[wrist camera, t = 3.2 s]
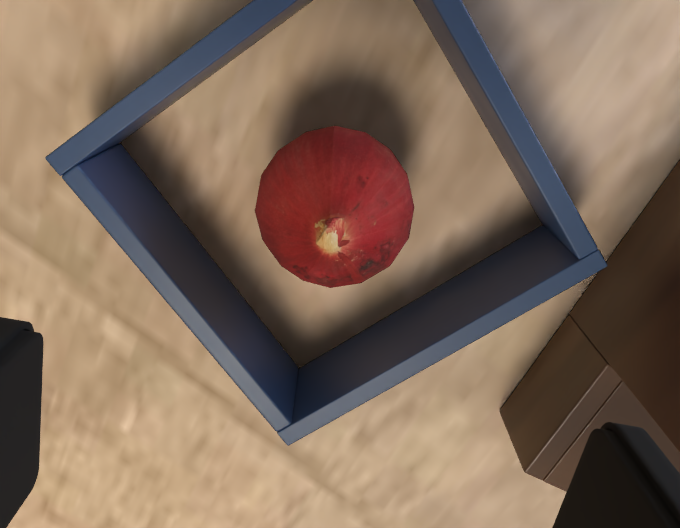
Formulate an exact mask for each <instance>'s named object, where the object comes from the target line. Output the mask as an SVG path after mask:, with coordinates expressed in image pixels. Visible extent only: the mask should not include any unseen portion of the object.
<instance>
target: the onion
mask: <svg viewBox="0 0 680 528" xmlns="http://www.w3.org/2000/svg"><path fill="white" fill-rule="evenodd" d="M413 211H414V204H413V199H412V194H411V190H410V185H409V180H408V176H407V173H406V172H405V170H404V169H403V167H402V166H401V164H400V163H399V161H398V160H397V158H396V157H395V155H394V154H393V153H392V151H391V150H390V149H389V148H387V147H386V146H385V145H383V144H382V143H380V142H379V141H377V140H376V139H374V138H373V137H372V136H370V135H369V134H367V133H366V132H362V131H357V130H352V129H348V128H343V127H339V126H331V127H326V128H321V129H316V130H312V131H307V132H305V133H304V134H302V135H301V136H299V137H298V138H296V139H295V140H293V141H292V142H290V143H289V144H287V145H286V146H284V147H283V148H281V149H280V150H278V151H277V153H276V154H275V156H274V157H273V159H272V160H271V162H270V163H269V165H268V166H267V168H266V169H265V170H264V172H263V173H262V175H261V180H260V186H259V191H258V197H257V202H256V208H255V213H256V217H257V220H258V224H259V228H260V232H261V236H262V239H263V241H264V243H265V244H266V246H267V247H268V248H269V250H270V251H271V253H272V254H273V255H274V257H275V258H276V259H277V261H278V262H279V264H280V265H281V266H282V267H284V268H285V269H287V270H288V271H290V272H291V273H293V274H294V275H296V276H297V277H299V278H300V279H302V280H303V281H307V282H311V283H314V284H318V285H322V286H326V287H329V288H332V287H339V286H345V285H352V284H358V283H362V282H363V281H365V280H367V279H369V278H370V277H372V276H374V275H375V274H377V273H379V272H381V271H382V270H384V269H386V268H387V267H389V266H390V265H391V264H392V262H393V261H394V259H395V258H396V256H397V255H398V253H399V252H400V250H401V249H402V247H403V246H404V244H405V243H406V241H407V240H408V238H409V234H410V229H411V223H412V217H413Z"/></svg>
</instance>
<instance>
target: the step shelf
mask: <svg viewBox="0 0 680 528" xmlns="http://www.w3.org/2000/svg"><path fill="white" fill-rule="evenodd" d="M606 263H607V267H606V268H604V269H602V270H600V272H599V273H598V274H597V276H596V277H595V279H594V280H593V281H592V283H591V284H590V286H589V287H588V288H587V290H586V291H585V292H584V294H583V295H582V297H581V298H580V299H579V301H578V302H577V304H576V305H575V306H574V308H573V309H572V311H571V312H570V315H569V316H568V317H567V318H566V319H565V321H564V322H563V324H562V325H561V326H560V328H559V329H558V331H557V332H556V333H555V335H554V336H553V338H552V339H551V340H550V342H549V343H548V344H547V346H546V347H545V349H544V350H543V351H542V353H541V354H540V356H539V357H538V358H537V360H536V361H535V363H534V364H533V365H532V367H531V368H530V369H529V371H528V372H527V374H526V375H525V376H524V378H523V379H522V381H521V382H520V383H519V385H518V386H517V388H516V389H515V390H514V392H513V393H512V394H511V396H510V397H509V399H508V400H507V401H506V403H505V404H504V406H503V407H502V408H501V410H500V414H501V416H502V419H503V421H504V424H505V426H506V429H507V431H508V434H509V436H510V438H511V441H512V443H513V446H514V448H515V451H516V453H517V456H518V458H519V461H520V463H521V465H522V468H523V470H524V472H525V473H527V474H529V475H532V476H534V477H536V478H538V479H541V480H543V481H544V482H546V483H549V484H551V485H553V486H555V487H558V488H560V489H562V490H564V491H567V490H568V488H569V485H570V483H571V480H572V478H573V475H574V473H575V470H576V468H577V465H578V463H579V460H580V458H581V455H582V453H583V450H584V448H585V445H586V443H587V440H588V438H589V436H590V434H591V432H592V431H593V430H594V429H597V428H598V429H600V428H601V427H602V426H603V425H604V424H605V423H607V422H612V423H618V424H624V425H630V426H636V427H640V428H643V429H644V430H645V431H646V432H647V433H648V434H649V435H650V437H651V438H652V439H653V440H654V442H655V443H656V444H657V445H658V447H659V448H660V449H661V451H662V452H663V453H664V454H665V456H666V457H667V458H668V459H669V461H670V462H671V463H672V464H673V466H674V467H675V468H676V469H677V471H678V472H679V473H680V160H679V162H678V163H677V165H676V166H675V167H674V169H673V170H672V172H671V173H670V174H669V176H668V177H667V179H666V180H665V181H664V183H663V184H662V185H661V187H660V188H659V190H658V191H657V192H656V194H655V195H654V197H653V198H652V199H651V201H650V202H649V204H648V205H647V206H646V208H645V209H644V210H643V212H642V213H641V215H640V216H639V217H638V219H637V220H636V222H635V223H634V224H633V226H632V227H631V229H630V230H629V231H628V233H627V234H626V235H625V237H624V238H623V240H622V241H621V242H620V244H619V245H618V247H617V248H616V249H615V251H614V252H613V254H612V255H611V256H610V258H609V259H608V261H607V262H606Z"/></svg>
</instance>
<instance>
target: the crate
mask: <svg viewBox="0 0 680 528" xmlns="http://www.w3.org/2000/svg"><path fill="white" fill-rule="evenodd" d="M311 1H313V0H253V1H251V2H250V3H249V4H247V5H246V6H245V7H243V8H242V9H241V10H239V11H238V12H237V13H236V14H234V15H233V16H232V17H230V18H229V19H228V20H226V21H225V22H224V23H222V24H221V25H220V26H218V27H217V28H216V29H214V30H213V31H212V32H210V33H209V34H208V35H206V36H205V37H204V38H202V39H201V40H200V41H198V42H197V43H196V44H194V45H193V46H192V47H191V48H189V49H188V50H187V51H185V52H184V53H183V54H181V55H180V56H179V57H177V58H176V59H175V60H173V61H172V62H171V63H169V64H168V65H167V66H165V67H164V68H163V69H161V70H160V71H159V72H157V73H156V74H155V75H153V76H152V77H151V78H149V79H148V80H147V81H146V82H144V83H143V84H142V85H140V86H139V87H138V88H136V89H135V90H134V91H132V92H131V93H130V94H128V95H127V96H126V97H124V98H123V99H122V100H120V101H119V102H118V103H116V104H115V105H114V106H112V107H111V108H110V109H108V110H107V111H106V112H104V113H103V114H102V115H101V116H99V117H98V118H97V119H95V120H94V121H93V122H91V123H90V124H89V125H87V126H86V127H85V128H83V129H82V130H81V131H79V132H78V133H77V134H75V135H74V136H73V137H71V138H70V139H69V140H67V141H66V142H65V143H63V144H62V145H61V146H59V147H58V148H57V149H56V150H54V151H53V152H52V153H50V154H49V155H48V156H46V160H47V161H48V162H49V163H50V165H51V166H52V167H53V168H54V169H55V171H56V172H57V173H58V174H59V175H60V176H61V175H63V176H62V178H63V179H64V181H65V182H66V183H67V184H68V185H69V187H70V188H71V189H72V190H73V191H74V192H75V194H76V195H77V196H78V197H79V198H80V200H81V201H82V202H83V203H84V204H85V206H86V207H87V208H88V209H89V210H90V211H91V213H92V214H93V215H94V216H95V217H96V219H97V220H98V221H99V222H100V223H101V224H102V226H103V227H104V228H105V229H106V230H107V232H108V233H109V234H110V235H111V236H112V238H113V239H114V240H115V241H116V242H117V243H118V245H119V246H120V247H121V248H122V249H123V251H124V252H125V253H126V254H127V255H128V256H129V258H130V259H131V260H132V261H133V262H134V264H135V265H136V266H137V267H138V268H139V270H140V271H141V272H142V273H143V274H144V275H145V277H146V278H147V279H148V280H149V281H150V283H151V284H152V285H153V286H154V287H155V289H156V290H157V291H158V292H159V293H160V294H161V296H162V297H163V298H164V299H165V300H166V302H167V303H168V304H169V305H170V306H171V307H172V309H173V310H174V311H175V312H176V313H177V315H178V316H179V317H180V318H181V319H182V321H183V322H184V323H185V324H186V325H187V326H188V328H189V329H190V330H191V331H192V332H193V334H194V335H195V336H196V337H197V338H198V339H199V341H200V342H201V343H202V344H203V345H204V347H205V348H206V349H207V350H208V351H209V353H210V354H211V355H212V356H213V357H214V358H215V360H216V361H217V362H218V363H219V364H220V366H221V367H222V368H223V369H224V370H225V371H226V373H227V374H228V375H229V376H230V377H231V379H232V380H233V381H234V382H235V383H236V385H237V386H238V387H239V388H240V389H241V390H242V392H243V393H244V394H245V395H246V396H247V398H248V399H249V400H250V401H251V402H252V403H253V405H254V406H255V407H256V408H257V409H258V411H259V412H260V413H261V414H262V415H263V417H264V418H265V419H266V420H267V421H268V422H269V424H270V425H271V426H272V427H273V428H274V430H275V431H277V434H278V435H279V436H280V437H281V438H282V440H283V441H284V442H285V443H286V444H287V445H290V444H292V443H294V442H296V441H297V440H299V439H301V438H303V437H304V436H306V435H308V434H310V433H312V432H313V431H315V430H317V429H319V428H321V427H322V426H324V425H326V424H328V423H329V422H331V421H333V420H335V419H337V418H338V417H340V416H342V415H344V414H345V413H347V412H349V411H351V410H353V409H354V408H356V407H358V406H360V405H361V404H363V403H365V402H367V401H369V400H370V399H372V398H374V397H376V396H378V395H379V394H381V393H383V392H385V391H386V390H388V389H390V388H392V387H394V386H395V385H397V384H399V383H401V382H402V381H404V380H406V379H408V378H410V377H411V376H413V375H415V374H417V373H419V372H420V371H422V370H424V369H426V368H427V367H429V366H431V365H433V364H435V363H436V362H438V361H440V360H442V359H443V358H445V357H447V356H449V355H451V354H452V353H454V352H456V351H458V350H459V349H461V348H463V347H465V346H467V345H468V344H470V343H472V342H474V341H476V340H477V339H479V338H481V337H483V336H484V335H486V334H488V333H490V332H492V331H493V330H495V329H497V328H499V327H500V326H502V325H504V324H506V323H508V322H509V321H511V320H513V319H515V318H516V317H518V316H520V315H522V314H524V313H525V312H527V311H529V310H531V309H533V308H534V307H536V306H538V305H540V304H541V303H543V302H545V301H547V300H549V299H550V298H552V297H554V296H556V295H557V294H559V293H561V292H563V291H565V290H566V289H568V288H570V287H572V286H573V285H575V284H577V283H579V282H581V281H582V280H584V279H586V278H588V277H590V276H591V275H593V274H595V273H597V272H598V271H600V270H602V269H604V268H606V267H607V263H606V262H605V260H604V258H603V256H602V254H601V253H600V251H599V250H598V249H597V246H596V244H595V242H594V240H593V238H592V236H591V235H590V233H589V231H588V229H587V227H586V225H585V224H584V222H583V220H582V218H581V216H580V215H579V213H578V211H577V209H576V207H575V205H574V204H573V202H572V200H571V198H570V196H569V195H568V193H567V191H566V189H565V187H564V185H563V184H562V182H561V180H560V178H559V176H558V175H557V173H556V171H555V169H554V167H553V165H552V164H551V162H550V160H549V158H548V156H547V155H546V153H545V151H544V149H543V147H542V145H541V144H540V142H539V140H538V138H537V136H536V135H535V133H534V131H533V129H532V127H531V125H530V124H529V122H528V120H527V118H526V116H525V115H524V113H523V111H522V109H521V107H520V105H519V104H518V102H517V100H516V98H515V96H514V95H513V93H512V91H511V89H510V87H509V85H508V84H507V82H506V80H505V78H504V76H503V75H502V73H501V71H500V69H499V67H498V65H497V64H496V62H495V60H494V58H493V56H492V55H491V53H490V51H489V49H488V47H487V45H486V44H485V42H484V40H483V38H482V36H481V34H480V33H479V31H478V29H477V27H476V25H475V24H474V22H473V20H472V18H471V16H470V14H469V13H468V11H467V9H466V7H465V5H464V4H463V2H462V0H414V2H415V4H416V6H417V7H418V9H419V11H420V13H421V14H422V16H423V18H424V20H425V21H426V23H427V25H428V27H429V28H430V30H431V32H432V34H433V35H434V37H435V39H436V40H437V42H438V44H439V46H440V47H441V49H442V51H443V53H444V54H445V56H446V58H447V60H448V61H449V63H450V65H451V67H452V68H453V70H454V72H455V73H456V75H457V77H458V79H459V80H460V82H461V84H462V86H463V87H464V89H465V91H466V93H467V94H468V96H469V98H470V100H471V101H472V103H473V105H474V106H475V108H476V110H477V112H478V113H479V115H480V117H481V119H482V120H483V122H484V124H485V126H486V127H487V129H488V131H489V133H490V134H491V136H492V138H493V139H494V141H495V143H496V145H497V146H498V148H499V150H500V152H501V153H502V155H503V157H504V159H505V160H506V162H507V164H508V166H509V167H510V169H511V171H512V172H513V174H514V176H515V178H516V179H517V181H518V183H519V185H520V186H521V188H522V190H523V192H524V193H525V195H526V197H527V199H528V200H529V202H530V204H531V205H532V207H533V209H534V211H535V212H536V214H537V216H538V218H539V219H540V221H541V223H542V224H543V225H542V226H540V227H538V228H537V229H535V230H533V231H532V232H530V233H528V234H527V235H525V236H523V237H522V238H520V239H518V240H516V241H515V242H513V243H511V244H510V245H508V246H506V247H505V248H503V249H501V250H499V251H498V252H496V253H494V254H493V255H491V256H489V257H488V258H486V259H484V260H483V261H481V262H479V263H477V264H476V265H474V266H472V267H471V268H469V269H467V270H466V271H464V272H462V273H461V274H459V275H457V276H455V277H454V278H452V279H450V280H449V281H447V282H445V283H444V284H442V285H440V286H438V287H437V288H435V289H433V290H432V291H430V292H428V293H427V294H425V295H423V296H422V297H420V298H418V299H416V300H415V301H413V302H411V303H410V304H408V305H406V306H405V307H403V308H401V309H400V310H398V311H396V312H394V313H393V314H391V315H389V316H388V317H386V318H384V319H383V320H381V321H379V322H378V323H376V324H374V325H372V326H371V327H369V328H367V329H366V330H364V331H362V332H361V333H359V334H357V335H355V336H354V337H352V338H350V339H349V340H347V341H345V342H344V343H342V344H340V345H339V346H337V347H335V348H333V349H332V350H330V351H328V352H327V353H325V354H323V355H322V356H320V357H318V358H317V359H315V360H313V361H311V362H310V363H308V364H306V365H305V366H303V367H301V368H300V369H299V368H298V367H297V365H296V364H295V363H294V361H293V360H292V359H291V358H290V356H289V355H288V354H287V353H286V351H285V350H284V349H283V348H282V346H281V345H280V344H279V343H278V341H277V340H276V339H275V338H274V336H273V335H272V334H271V332H270V331H269V330H268V329H267V327H266V326H265V325H264V324H263V322H262V321H261V320H260V319H259V317H258V316H257V315H256V314H255V312H254V311H253V310H252V309H251V307H250V306H249V305H248V303H247V302H246V301H245V300H244V298H243V297H242V296H241V295H240V293H239V292H238V291H237V290H236V288H235V287H234V286H233V285H232V283H231V282H230V281H229V280H228V278H227V277H226V276H225V274H224V273H223V272H222V271H221V269H220V268H219V267H218V266H217V264H216V263H215V262H214V261H213V259H212V258H211V257H210V256H209V254H208V253H207V252H206V251H205V249H204V248H203V247H202V245H201V244H200V243H199V242H198V240H197V239H196V238H195V237H194V235H193V234H192V233H191V232H190V230H189V229H188V228H187V227H186V225H185V224H184V223H183V222H182V220H181V219H180V218H179V216H178V215H177V214H176V213H175V211H174V210H173V209H172V208H171V206H170V205H169V204H168V203H167V201H166V200H165V199H164V198H163V196H162V195H161V194H160V193H159V191H158V190H157V189H156V187H155V186H154V185H153V184H152V182H151V181H150V180H149V179H148V177H147V176H146V175H145V174H144V172H143V171H142V170H141V169H140V167H139V166H138V165H137V163H136V162H135V161H134V160H133V158H132V157H131V156H130V155H129V153H128V152H127V151H126V150H125V148H124V147H123V146H122V145H121V144H119V143H120V142H122V141H123V140H124V139H126V138H127V137H128V136H130V135H131V134H132V133H134V132H135V131H136V130H138V129H139V128H141V127H142V126H143V125H145V124H146V123H147V122H149V121H150V120H151V119H153V118H154V117H155V116H157V115H158V114H160V113H161V112H162V111H164V110H165V109H166V108H168V107H169V106H170V105H172V104H173V103H174V102H176V101H177V100H178V99H180V98H181V97H183V96H184V95H185V94H187V93H188V92H189V91H191V90H192V89H193V88H195V87H196V86H197V85H199V84H200V83H202V82H203V81H204V80H206V79H207V78H208V77H210V76H211V75H212V74H214V73H215V72H216V71H218V70H219V69H221V68H222V67H223V66H225V65H226V64H227V63H229V62H230V61H231V60H233V59H234V58H235V57H237V56H238V55H240V54H241V53H242V52H244V51H245V50H246V49H248V48H249V47H250V46H252V45H253V44H254V43H256V42H257V41H259V40H260V39H261V38H263V37H264V36H265V35H267V34H268V33H269V32H271V31H272V30H273V29H275V28H276V27H278V26H279V25H280V24H282V23H283V22H284V21H286V20H287V19H288V18H290V17H291V16H292V15H294V14H295V13H297V12H298V11H299V10H301V9H302V8H303V7H305V6H306V5H307V4H309V3H310V2H311Z"/></svg>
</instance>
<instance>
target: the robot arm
mask: <svg viewBox="0 0 680 528" xmlns="http://www.w3.org/2000/svg"><path fill="white" fill-rule="evenodd" d="M42 366H43V337H42V335H41V334H40V333H37V332H34V329H33V326H32V324H31V323H30V322H25V321H19V320H14V319H8V318H2V317H0V528H6V527H7V526H8V524H9V523H10V521H11V520H12V518H13V517H14V516H15V514H16V513H17V511H18V510H19V508H20V507H21V505H22V504H23V502H24V501H25V499H26V498H27V497H28V495H29V494H30V492H31V490H32V489H33V486H34V484H35V482H36V479H37V475H38V470H39V451H40V423H41V394H42ZM553 528H680V473H679V472H678V471H677V469H676V468H675V467H674V466H673V464H672V463H671V462H670V461H669V459H668V458H667V457H666V456H665V454H664V453H663V452H662V451H661V449H660V448H659V447H658V445H657V444H656V443H655V442H654V440H653V439H652V438H651V437H650V435H649V434H648V433H647V432H646V431H645V430H644V429H643V428H640V427H636V426H630V425H624V424H618V423H612V422H607V423H605V424H604V425H603V426H602V427H601V428H600V429H598V428H597V429H594V430H593V431H592V432H591V434H590V436H589V438H588V440H587V443H586V445H585V448H584V450H583V453H582V455H581V458H580V460H579V463H578V465H577V468H576V470H575V473H574V475H573V478H572V480H571V483H570V485H569V488H568V490H567V493H566V495H565V498H564V500H563V503H562V505H561V508H560V510H559V513H558V515H557V518H556V520H555V523H554V525H553Z"/></svg>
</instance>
